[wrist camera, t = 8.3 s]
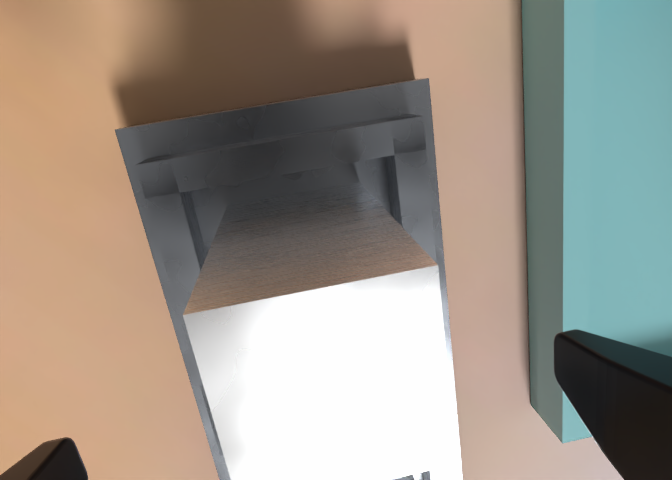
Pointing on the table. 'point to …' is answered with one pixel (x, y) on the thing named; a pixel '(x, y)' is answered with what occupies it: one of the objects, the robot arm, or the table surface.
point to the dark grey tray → (284, 188)
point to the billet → (322, 341)
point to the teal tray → (596, 182)
